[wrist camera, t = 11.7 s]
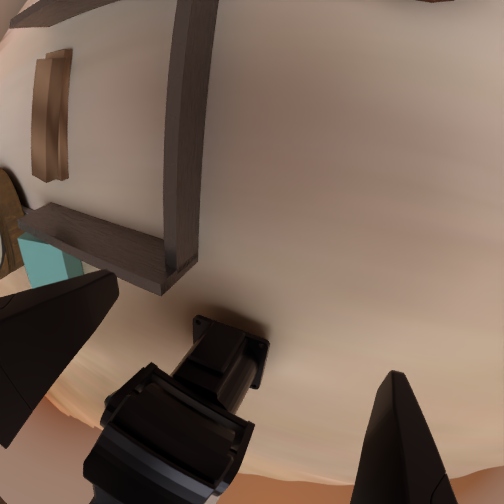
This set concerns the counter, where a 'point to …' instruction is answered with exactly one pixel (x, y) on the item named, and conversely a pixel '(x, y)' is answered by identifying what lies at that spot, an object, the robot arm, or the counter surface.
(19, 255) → the wooden container
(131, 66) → the counter surface
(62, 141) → the board
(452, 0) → the food container
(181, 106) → the rack
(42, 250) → the block
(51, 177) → the offcut top
